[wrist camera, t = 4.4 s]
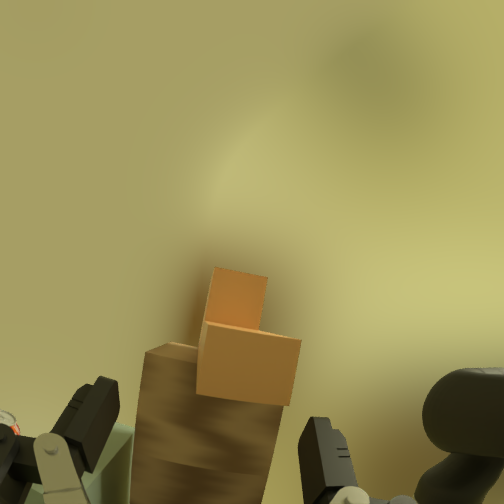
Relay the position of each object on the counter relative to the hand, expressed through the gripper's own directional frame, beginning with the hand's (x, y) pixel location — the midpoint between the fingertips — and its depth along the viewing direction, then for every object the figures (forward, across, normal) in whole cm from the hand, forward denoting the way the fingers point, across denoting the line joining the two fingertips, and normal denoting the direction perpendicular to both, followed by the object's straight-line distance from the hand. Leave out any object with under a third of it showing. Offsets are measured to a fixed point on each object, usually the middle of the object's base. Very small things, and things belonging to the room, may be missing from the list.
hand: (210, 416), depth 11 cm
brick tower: (-3, 0, +34) cm, 34 cm away
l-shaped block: (+9, -1, +4) cm, 10 cm away
